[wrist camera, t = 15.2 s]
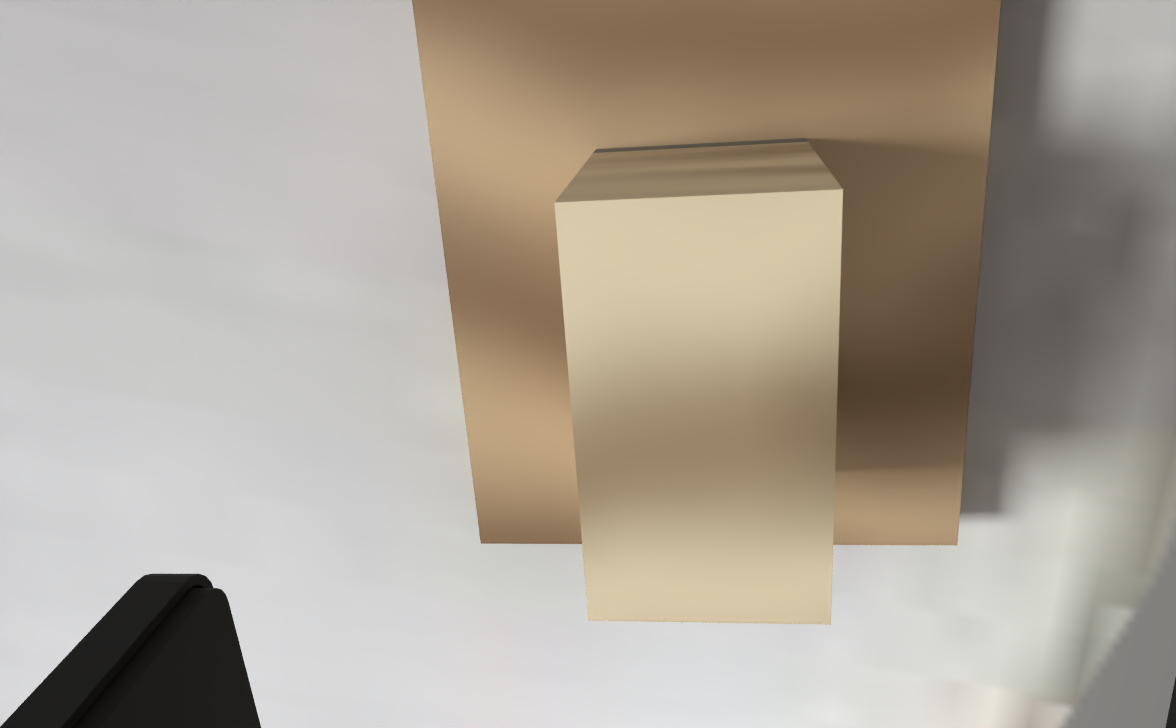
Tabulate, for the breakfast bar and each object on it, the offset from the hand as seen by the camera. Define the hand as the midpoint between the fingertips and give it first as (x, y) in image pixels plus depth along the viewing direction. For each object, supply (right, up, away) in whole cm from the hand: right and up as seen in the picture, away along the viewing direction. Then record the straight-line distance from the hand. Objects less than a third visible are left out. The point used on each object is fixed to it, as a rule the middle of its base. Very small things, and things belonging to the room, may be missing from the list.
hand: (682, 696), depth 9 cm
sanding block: (+2, +4, +12) cm, 13 cm away
